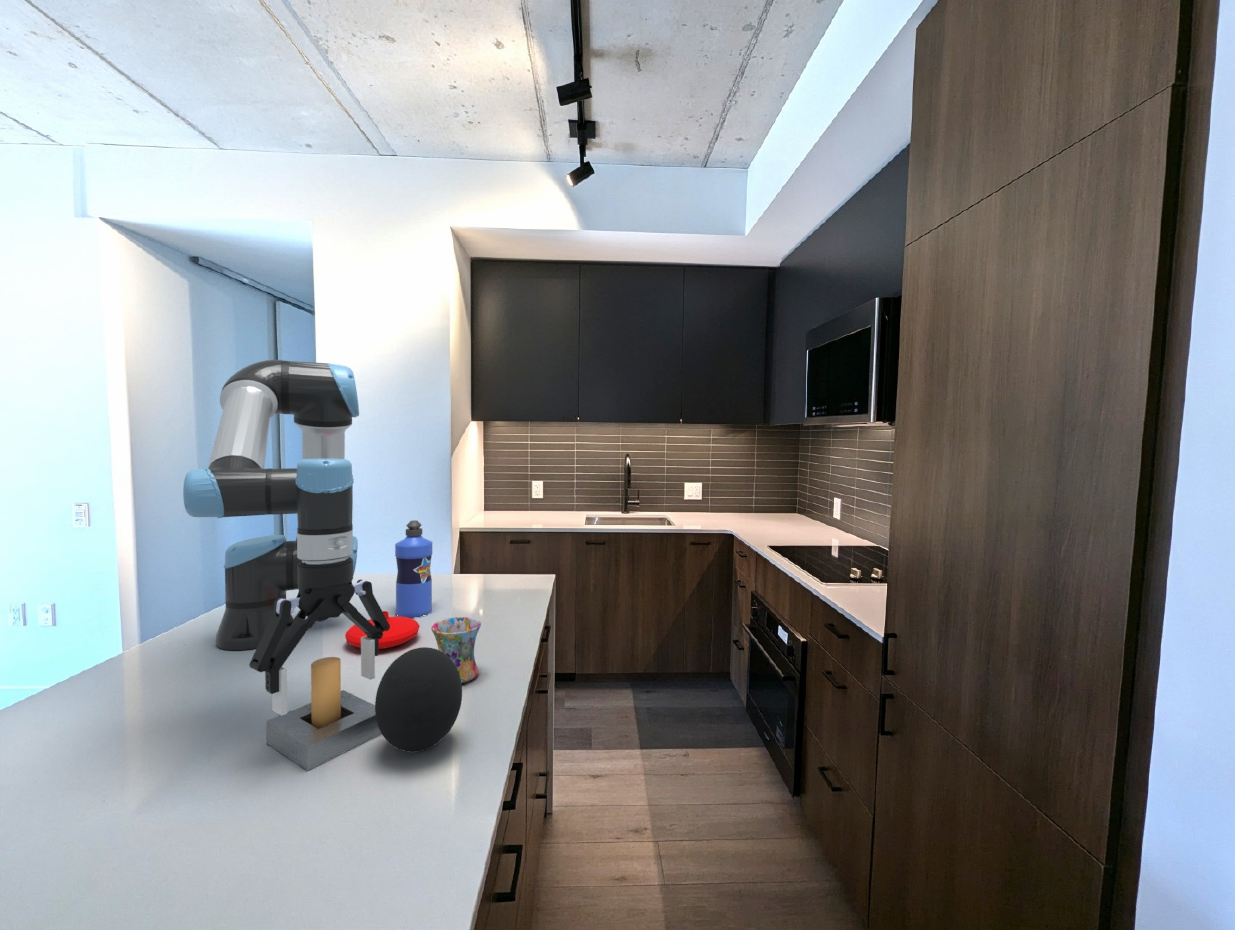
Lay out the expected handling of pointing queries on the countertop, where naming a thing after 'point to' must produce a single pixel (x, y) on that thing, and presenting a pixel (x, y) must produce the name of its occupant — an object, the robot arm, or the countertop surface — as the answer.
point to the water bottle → (413, 573)
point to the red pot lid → (387, 632)
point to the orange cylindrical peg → (325, 691)
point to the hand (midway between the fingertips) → (327, 693)
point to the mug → (458, 643)
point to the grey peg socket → (322, 732)
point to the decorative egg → (418, 699)
